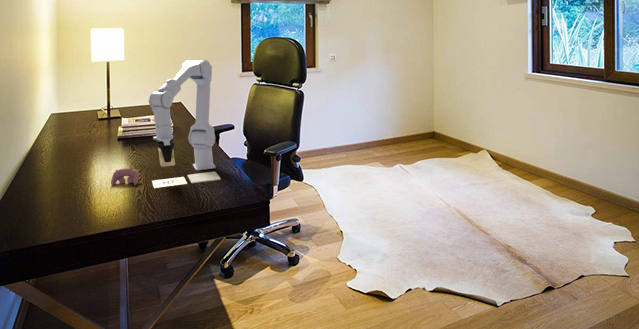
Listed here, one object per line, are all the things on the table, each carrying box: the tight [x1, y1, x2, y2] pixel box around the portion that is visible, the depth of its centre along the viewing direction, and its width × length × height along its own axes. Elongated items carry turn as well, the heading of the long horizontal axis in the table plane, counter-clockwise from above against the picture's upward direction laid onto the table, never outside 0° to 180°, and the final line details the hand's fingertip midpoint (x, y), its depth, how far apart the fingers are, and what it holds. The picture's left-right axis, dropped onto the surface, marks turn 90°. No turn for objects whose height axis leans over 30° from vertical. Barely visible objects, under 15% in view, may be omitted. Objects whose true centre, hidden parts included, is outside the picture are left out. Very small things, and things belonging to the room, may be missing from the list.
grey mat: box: [186, 171, 222, 184], centre depth 195 cm, size 11×11×1 cm
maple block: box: [157, 147, 176, 168], centre depth 188 cm, size 5×5×6 cm
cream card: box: [151, 176, 188, 189], centre depth 191 cm, size 10×12×1 cm
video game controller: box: [110, 167, 140, 187], centre depth 190 cm, size 10×5×7 cm, turn 92°
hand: (167, 160), depth 188 cm, fingers closed on maple block, 5 cm apart
